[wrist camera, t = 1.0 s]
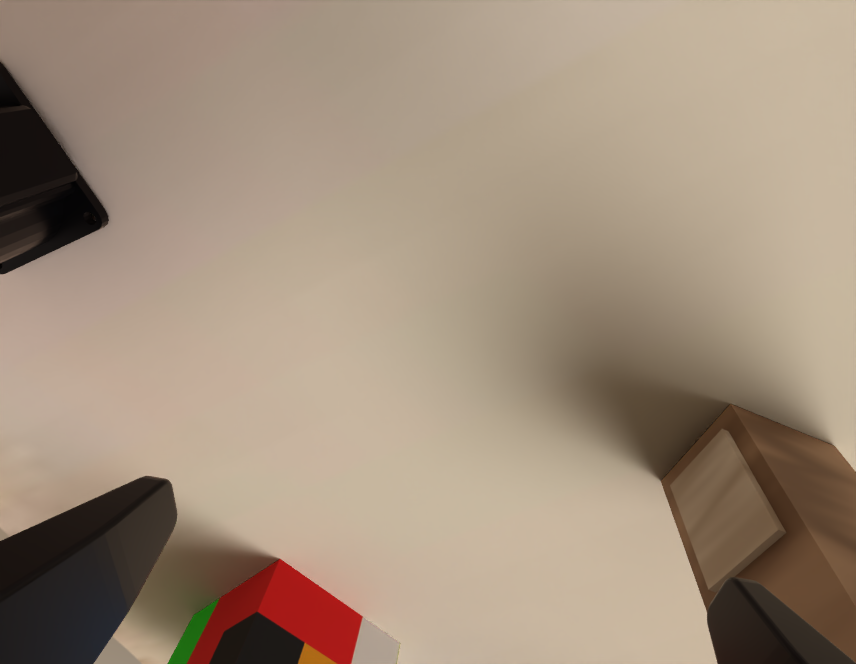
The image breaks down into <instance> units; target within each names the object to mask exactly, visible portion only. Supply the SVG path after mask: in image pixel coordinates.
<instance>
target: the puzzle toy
mask: <svg viewBox="0 0 856 664" xmlns="http://www.w3.org/2000/svg"><path fill="white" fill-rule="evenodd" d="M399 648H400V642H398V641H397V640H396V639H394V638H393V637H391V636H390V635H388V634H387V633H385V632H384V631H383V630H381V629H380V628H378V627H377V626H375V625H374V624H373V623H371V622H370V621H368V620H367V619H365V618H364V617H363V616H361V615H360V614H358V613H357V612H355V611H354V610H353V609H351V608H350V607H348V606H347V605H345V604H344V603H343V602H341V601H340V600H338V599H337V598H335V597H334V596H332V595H331V594H330V593H328V592H327V591H325V590H324V589H322V588H321V587H320V586H318V585H317V584H315V583H314V582H312V581H311V580H310V579H308V578H307V577H305V576H304V575H302V574H301V573H300V572H298V571H297V570H295V569H294V568H292V567H291V566H290V565H288V564H287V563H285V562H284V561H282V560H281V559H279V560H278V561H276V562H274V563H273V564H271V565H270V566H268V567H267V568H265V569H264V570H262V571H261V572H259V573H258V574H256V575H255V576H253V577H251V578H250V579H248V580H247V581H245V582H244V583H242V584H241V585H239V586H238V587H236V588H235V589H233V590H232V591H230V592H228V593H227V594H225V595H224V596H222V597H221V598H219V599H218V600H216V601H215V602H213V603H212V604H210V605H209V606H207V607H205V608H204V609H202V610H201V611H199V612H198V613H196V614H195V615H193V617H192V619H191V621H190V623H189V625H188V626H187V628H186V630H185V632H184V634H183V636H182V638H181V640H180V641H179V643H178V645H177V647H176V649H175V651H174V653H173V654H172V656H171V658H170V660H169V662H168V664H397V660H398V654H399Z"/></svg>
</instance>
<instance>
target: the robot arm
mask: <svg viewBox="0 0 856 664" xmlns="http://www.w3.org/2000/svg"><path fill="white" fill-rule="evenodd" d="M90 213H92V214H93V215H94V216H95V218H96V221H95V220H94V219H93V218H92V217H91V215H90ZM108 221H109V219H108V215H107V213H106V211H105V209H104V208H103V206H102V205H101V204H100V202H99V201H98V199H97V198H96V196H95V195H94V194H93V192H92V191H91V189H90V188H89V186H88V185H87V184H86V182H85V181H84V179H83V178H82V176H81V175H80V174H79V172H78V171H77V169H76V168H75V166H74V165H73V164H72V162H71V161H70V159H69V158H68V156H67V155H66V154H65V152H64V151H63V149H62V148H61V146H60V145H59V144H58V142H57V141H56V139H55V138H54V137H53V135H52V134H51V132H50V131H49V129H48V128H47V127H46V125H45V124H44V122H43V121H42V119H41V118H40V117H39V115H38V114H37V112H36V111H35V109H34V108H33V107H32V105H31V104H30V102H29V101H28V99H27V98H26V97H25V95H24V94H23V92H22V91H21V89H20V88H19V87H18V85H17V84H16V82H15V81H14V79H13V78H12V77H11V75H10V74H9V72H8V71H7V69H6V68H5V67H4V66H3V65H2V64H1V63H0V274H5V273H8V272H10V271H12V270H14V269H16V268H18V267H20V266H22V265H25V264H27V263H29V262H31V261H33V260H35V259H37V258H39V257H42V256H44V255H46V254H48V253H50V252H52V251H54V250H56V249H59V248H61V247H63V246H65V245H67V244H69V243H71V242H73V241H76V240H78V239H80V238H82V237H84V236H86V235H88V234H90V233H93V232H95V231H97V230H99V229H101V228H103V227H105V226H106V225H107V224H108ZM176 521H177V508H176V503H175V498H174V493H173V488H172V484H171V482H170V481H169V480H167V479H164V478H158V477H152V476H144V477H141V478H139V479H136V480H134V481H132V482H130V483H128V484H125V485H123V486H121V487H119V488H116V489H114V490H112V491H110V492H108V493H105V494H103V495H101V496H99V497H97V498H94V499H92V500H90V501H88V502H86V503H83V504H81V505H79V506H77V507H75V508H72V509H70V510H68V511H66V512H64V513H61V514H59V515H57V516H55V517H52V518H50V519H48V520H46V521H44V522H41V523H39V524H37V525H35V526H33V527H30V528H28V529H26V530H24V531H22V532H19V533H17V534H15V535H13V536H11V537H8V538H6V539H4V540H2V541H0V664H93V663H94V662H95V661H96V659H97V658H98V656H99V655H100V653H101V652H102V650H103V649H104V647H105V646H106V644H107V643H108V641H109V640H110V639H111V637H112V636H113V634H114V633H115V631H116V630H117V628H118V627H119V625H120V624H121V622H122V621H123V619H124V618H125V616H126V615H127V613H128V612H129V610H130V608H131V606H132V605H133V603H134V601H135V599H136V598H137V596H138V594H139V592H140V590H141V589H142V587H143V585H144V583H145V581H146V579H147V578H148V576H149V574H150V572H151V570H152V568H153V567H154V565H155V563H156V561H157V559H158V557H159V556H160V554H161V552H162V550H163V548H164V546H165V545H166V543H167V541H168V539H169V537H170V535H171V533H172V532H173V530H174V527H175V524H176ZM707 623H708V628H709V632H710V636H711V640H712V644H713V647H714V651H715V655H716V659H717V663H718V664H856V662H854V661H853V660H852V659H851V658H850V657H848V656H847V655H846V654H845V653H844V652H842V651H841V650H840V649H839V648H838V647H836V646H835V645H834V644H833V643H832V642H830V641H829V640H828V639H827V638H825V637H824V636H823V635H822V634H821V633H819V632H818V631H817V630H816V629H815V628H813V627H812V626H811V625H810V624H809V623H807V622H806V621H805V620H804V619H803V618H801V617H800V616H799V615H798V614H796V613H795V612H794V611H793V610H792V609H790V608H789V607H788V606H787V605H786V604H784V603H783V602H782V601H781V600H780V599H778V598H777V597H776V596H775V595H774V594H772V593H771V592H770V591H769V590H767V589H766V588H765V587H764V586H763V585H761V584H760V583H758V582H757V581H754V580H749V579H743V578H738V577H730V578H728V579H726V580H725V582H724V583H723V585H722V586H721V588H720V590H719V591H718V593H717V594H716V596H715V597H714V599H713V600H712V602H711V603H710V605H709V608H708V612H707Z"/></svg>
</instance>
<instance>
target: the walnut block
mask: <svg viewBox="0 0 856 664" xmlns="http://www.w3.org/2000/svg"><path fill="white" fill-rule="evenodd" d="M661 483H662V486H663V489H664V491H665V494H666V497H667V500H668V503H669V506H670V508H671V511H672V514H673V517H674V520H675V523H676V525H677V528H678V531H679V534H680V537H681V540H682V542H683V545H684V548H685V551H686V554H687V556H688V559H689V562H690V565H691V568H692V571H693V573H694V576H695V579H696V582H697V585H698V588H699V590H700V593H701V596H702V599H703V602H704V605H705V607H706V610H707V612H708V608H709V605H710V603H711V602H712V600H713V599H714V597H715V596H716V594H717V593H718V591H719V590H720V588H721V586H722V585H723V583H724V582H725V580H726V579H728V578H730V577H738V578H743V579H749V580H754V581H757V582H758V583H760V584H761V585H763V586H764V587H765V588H766V589H767V590H769V591H770V592H771V593H772V594H774V595H775V596H776V597H777V598H778V599H780V600H781V601H782V602H783V603H784V604H786V605H787V606H788V607H789V608H790V609H792V610H793V611H794V612H795V613H796V614H798V615H799V616H800V617H801V618H803V619H804V620H805V621H806V622H807V623H809V624H810V625H811V626H812V627H813V628H815V629H816V630H817V631H818V632H819V633H821V634H822V635H823V636H824V637H825V638H827V639H828V640H829V641H830V642H832V643H833V644H834V645H835V646H836V647H838V648H839V649H840V650H841V651H842V652H844V653H845V654H846V655H847V656H848V657H850V658H851V659H852V660H853V661H854V662H856V472H855V471H854V469H853V468H852V467H851V466H850V464H849V463H848V462H847V461H846V459H845V458H844V457H843V456H842V454H841V453H840V452H839V451H838V449H837V448H836V447H835V446H833V445H831V444H828V443H826V442H823V441H821V440H818V439H816V438H814V437H811V436H809V435H806V434H804V433H801V432H799V431H796V430H794V429H791V428H789V427H786V426H784V425H781V424H779V423H777V422H774V421H772V420H769V419H767V418H764V417H762V416H759V415H757V414H754V413H752V412H749V411H747V410H744V409H742V408H740V407H737V406H735V405H732V404H730V405H729V406H728V407H727V408H726V409H725V411H724V412H723V413H722V414H721V415H720V416H719V417H718V418H717V419H716V421H715V422H714V423H713V424H712V425H711V426H710V427H709V428H708V429H707V431H706V432H705V433H704V434H703V435H702V436H701V437H700V438H699V439H698V441H697V442H696V443H695V444H694V445H693V446H692V447H691V448H690V450H689V451H688V452H687V453H686V454H685V455H684V456H683V457H682V458H681V460H680V461H679V462H678V463H677V464H676V465H675V466H674V467H673V468H672V470H671V471H670V472H669V473H668V474H667V475H666V476H665V477H664V478H663V480H662V481H661Z"/></svg>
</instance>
